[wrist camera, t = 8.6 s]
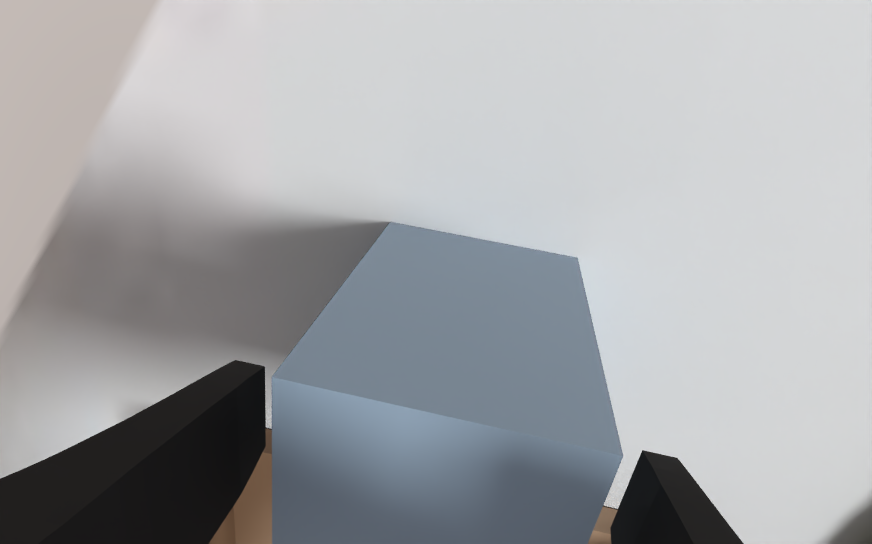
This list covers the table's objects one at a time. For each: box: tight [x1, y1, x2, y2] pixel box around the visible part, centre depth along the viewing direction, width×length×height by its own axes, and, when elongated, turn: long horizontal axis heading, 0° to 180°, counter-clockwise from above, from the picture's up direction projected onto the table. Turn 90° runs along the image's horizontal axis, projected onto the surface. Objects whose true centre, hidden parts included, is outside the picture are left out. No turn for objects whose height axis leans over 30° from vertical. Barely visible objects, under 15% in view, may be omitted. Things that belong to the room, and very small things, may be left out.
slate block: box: [272, 222, 623, 544], centre depth 11 cm, size 5×5×7 cm
